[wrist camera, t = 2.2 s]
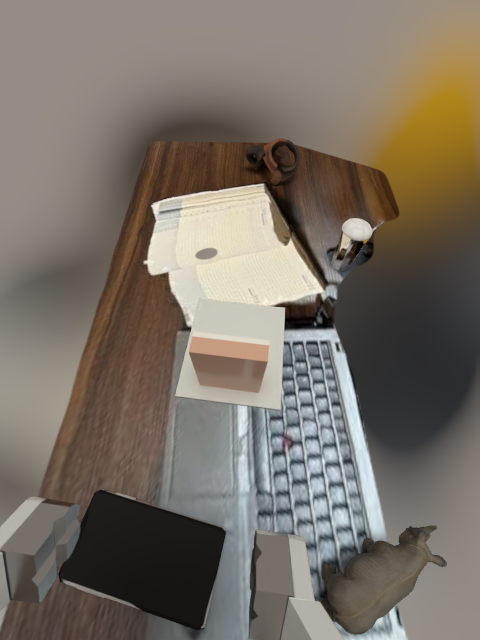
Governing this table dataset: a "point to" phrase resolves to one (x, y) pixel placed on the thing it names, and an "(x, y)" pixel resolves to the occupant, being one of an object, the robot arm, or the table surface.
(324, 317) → the table surface
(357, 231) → the milkshake
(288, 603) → the robot arm
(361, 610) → the brown elongated animal figure
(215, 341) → the tile
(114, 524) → the smartphone
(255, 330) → the mat
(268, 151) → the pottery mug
